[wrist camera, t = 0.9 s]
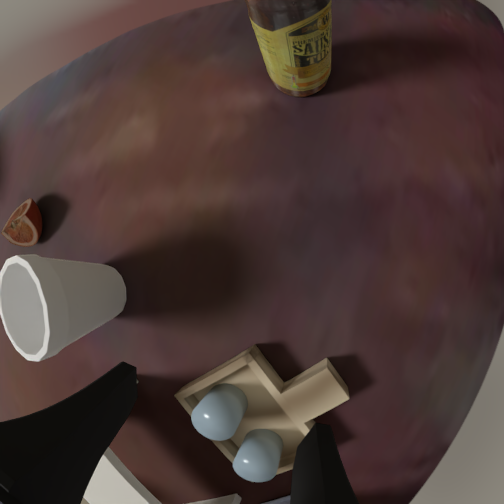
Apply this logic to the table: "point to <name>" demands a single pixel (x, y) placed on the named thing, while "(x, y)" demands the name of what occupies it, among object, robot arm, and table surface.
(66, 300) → the foam cup
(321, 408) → the serving board
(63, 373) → the table surface
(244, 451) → the pale blue rounded cylinder
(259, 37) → the sauce bottle
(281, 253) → the table surface
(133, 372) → the robot arm
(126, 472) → the shelf
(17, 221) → the fruit slice
